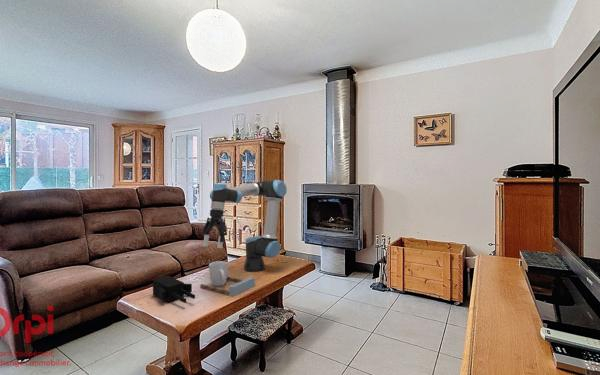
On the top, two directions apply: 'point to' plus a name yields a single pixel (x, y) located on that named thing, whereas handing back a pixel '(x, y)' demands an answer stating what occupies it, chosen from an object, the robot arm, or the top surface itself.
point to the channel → (219, 288)
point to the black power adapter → (171, 289)
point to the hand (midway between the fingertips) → (212, 247)
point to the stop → (241, 286)
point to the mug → (218, 272)
